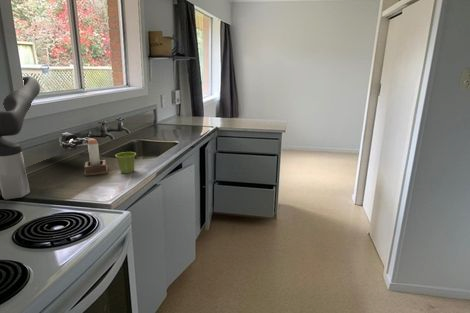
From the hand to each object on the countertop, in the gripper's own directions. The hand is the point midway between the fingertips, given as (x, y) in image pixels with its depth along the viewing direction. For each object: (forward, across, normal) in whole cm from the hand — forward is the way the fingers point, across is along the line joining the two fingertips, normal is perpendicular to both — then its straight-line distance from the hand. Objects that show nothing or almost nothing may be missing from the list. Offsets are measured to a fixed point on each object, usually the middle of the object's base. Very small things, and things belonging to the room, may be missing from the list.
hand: (84, 145), depth 156 cm
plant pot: (+21, +9, +12) cm, 26 cm away
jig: (+9, 0, +12) cm, 15 cm away
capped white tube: (+9, 0, +10) cm, 14 cm away
